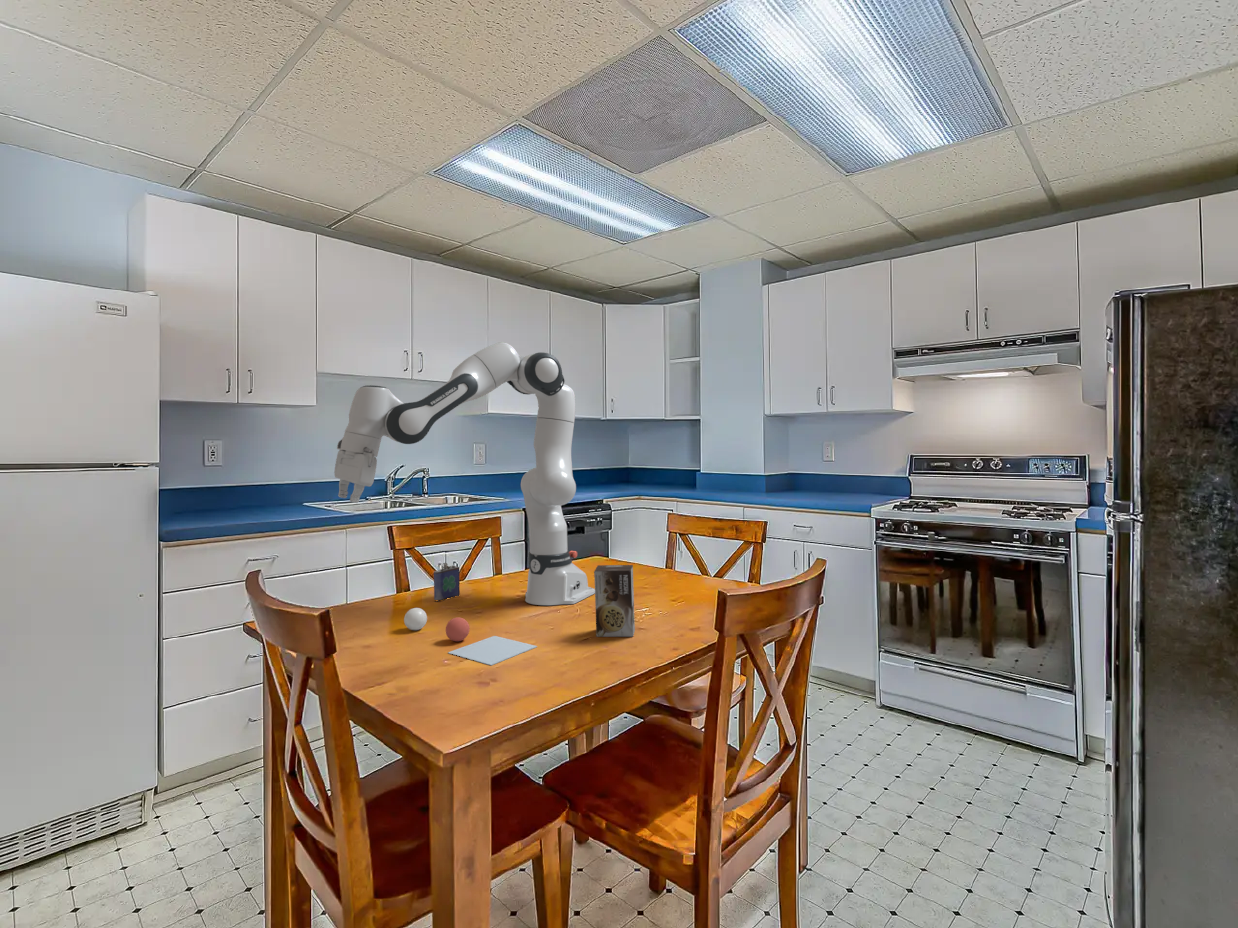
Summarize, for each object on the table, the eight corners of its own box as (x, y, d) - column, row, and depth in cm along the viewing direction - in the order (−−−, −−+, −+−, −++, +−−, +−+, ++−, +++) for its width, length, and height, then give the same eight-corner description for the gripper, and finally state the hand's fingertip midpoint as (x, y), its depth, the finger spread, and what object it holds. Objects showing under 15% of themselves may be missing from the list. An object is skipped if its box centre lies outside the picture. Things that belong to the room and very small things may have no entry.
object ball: (459, 635, 153) (458, 613, 153) (474, 639, 150) (474, 616, 150) (441, 641, 149) (440, 618, 148) (456, 646, 145) (455, 622, 145)
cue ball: (418, 625, 163) (417, 604, 162) (431, 628, 159) (431, 607, 159) (399, 630, 158) (399, 609, 158) (413, 634, 155) (412, 612, 155)
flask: (438, 602, 185) (436, 566, 185) (431, 601, 187) (430, 565, 187) (462, 595, 193) (461, 560, 193) (455, 594, 195) (454, 560, 194)
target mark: (494, 636, 152) (494, 635, 152) (537, 646, 144) (537, 645, 144) (447, 653, 141) (447, 652, 141) (491, 665, 132) (491, 664, 132)
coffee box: (635, 629, 156) (634, 564, 155) (633, 637, 149) (632, 569, 149) (598, 628, 157) (597, 564, 156) (595, 636, 150) (593, 569, 150)
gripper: (387, 451, 155) (374, 507, 154) (359, 447, 170) (348, 497, 169) (361, 446, 151) (348, 503, 150) (335, 441, 166) (323, 493, 165)
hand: (347, 499), depth 160 cm, fingers open, 8 cm apart
